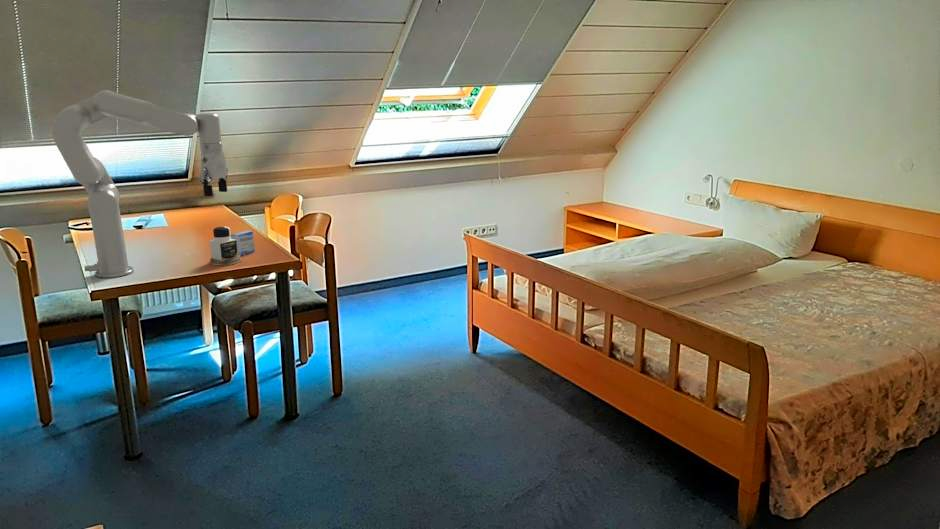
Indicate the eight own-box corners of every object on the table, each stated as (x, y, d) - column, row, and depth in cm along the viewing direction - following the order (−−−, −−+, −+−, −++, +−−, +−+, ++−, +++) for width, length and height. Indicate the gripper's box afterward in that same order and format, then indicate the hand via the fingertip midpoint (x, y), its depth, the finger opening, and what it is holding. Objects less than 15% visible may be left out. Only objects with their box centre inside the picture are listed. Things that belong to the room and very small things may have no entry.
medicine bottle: (222, 261, 262) (218, 230, 259) (211, 258, 266) (207, 228, 263) (238, 257, 268) (235, 226, 264) (227, 254, 272) (223, 224, 269)
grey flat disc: (213, 267, 260) (212, 263, 259) (207, 260, 269) (206, 256, 269) (244, 262, 266) (244, 258, 265) (237, 256, 275) (237, 252, 275)
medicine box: (240, 256, 275) (238, 235, 273) (232, 255, 277) (230, 233, 275) (255, 251, 282) (253, 231, 279) (247, 250, 284) (245, 230, 281)
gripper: (207, 150, 247) (212, 198, 252) (233, 145, 264) (237, 190, 268) (188, 150, 249) (193, 197, 253) (215, 145, 265) (219, 189, 270)
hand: (216, 193), depth 261 cm, fingers open, 9 cm apart
